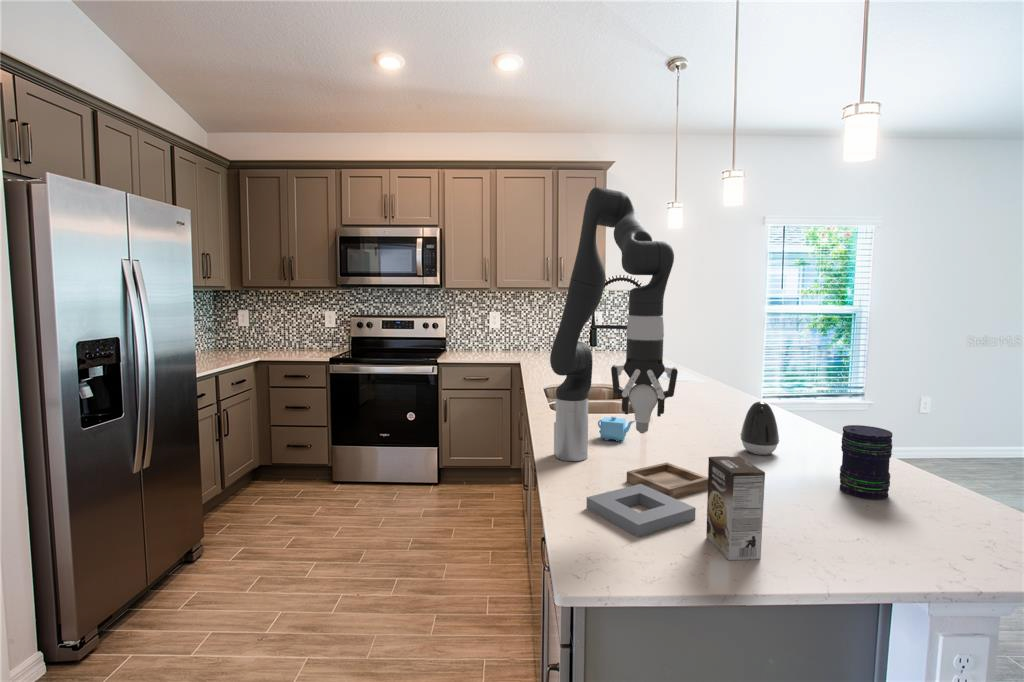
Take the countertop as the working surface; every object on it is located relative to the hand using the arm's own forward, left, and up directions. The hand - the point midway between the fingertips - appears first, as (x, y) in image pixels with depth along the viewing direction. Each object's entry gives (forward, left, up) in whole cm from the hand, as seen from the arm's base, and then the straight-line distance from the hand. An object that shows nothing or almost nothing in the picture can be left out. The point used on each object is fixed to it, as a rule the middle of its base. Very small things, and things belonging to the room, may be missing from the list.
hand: (642, 414), depth 113 cm
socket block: (+1, -2, -21) cm, 21 cm away
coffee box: (+21, +2, -21) cm, 30 cm away
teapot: (-45, +32, -21) cm, 59 cm away
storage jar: (+19, +52, -21) cm, 60 cm away
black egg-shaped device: (-13, +59, -21) cm, 64 cm away
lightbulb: (0, 0, -4) cm, 4 cm away
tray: (-8, +16, -21) cm, 28 cm away
